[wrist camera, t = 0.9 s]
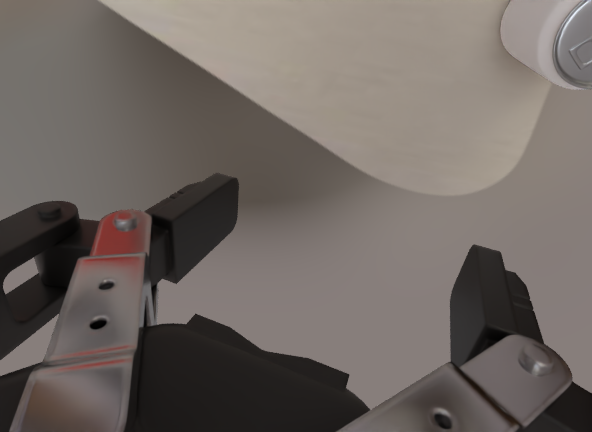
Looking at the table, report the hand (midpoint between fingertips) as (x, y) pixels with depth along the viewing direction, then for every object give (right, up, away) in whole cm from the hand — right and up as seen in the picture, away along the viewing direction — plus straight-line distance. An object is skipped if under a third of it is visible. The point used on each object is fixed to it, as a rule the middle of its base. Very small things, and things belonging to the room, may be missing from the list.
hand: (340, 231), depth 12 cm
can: (+19, +17, +18) cm, 31 cm away
